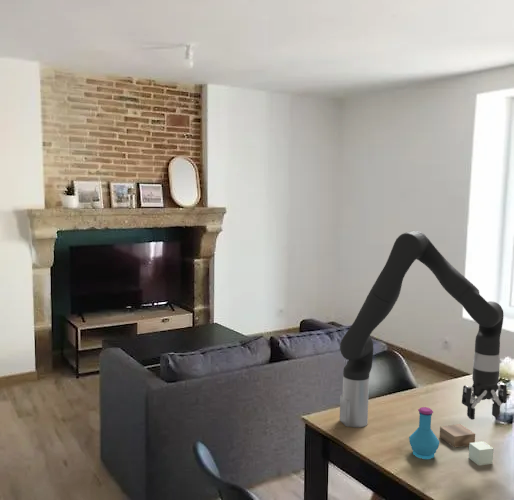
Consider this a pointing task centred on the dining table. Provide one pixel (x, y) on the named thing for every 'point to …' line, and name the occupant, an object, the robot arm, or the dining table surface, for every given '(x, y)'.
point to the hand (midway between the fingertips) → (483, 417)
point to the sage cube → (481, 453)
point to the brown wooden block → (457, 435)
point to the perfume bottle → (424, 436)
